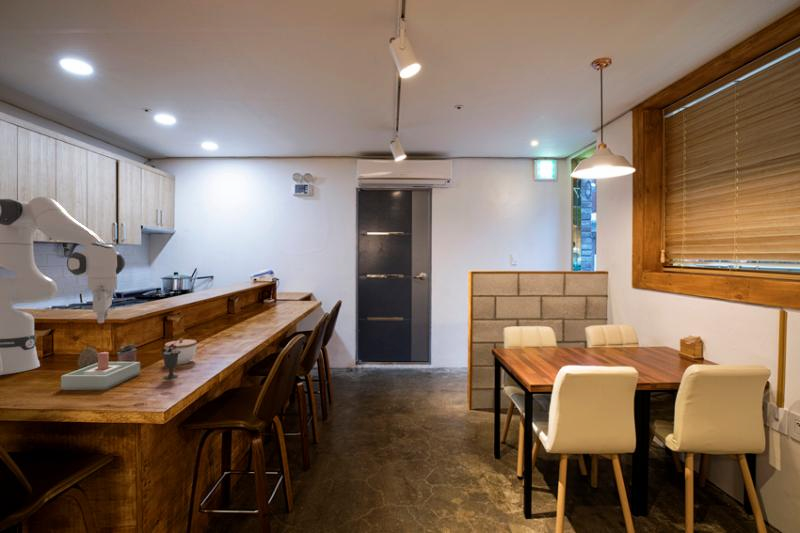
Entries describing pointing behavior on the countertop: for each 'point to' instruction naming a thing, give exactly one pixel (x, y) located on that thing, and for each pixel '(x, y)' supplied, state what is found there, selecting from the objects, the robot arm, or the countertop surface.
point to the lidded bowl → (184, 349)
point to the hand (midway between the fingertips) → (102, 320)
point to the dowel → (103, 360)
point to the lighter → (127, 353)
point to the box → (100, 376)
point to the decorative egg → (88, 357)
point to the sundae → (170, 359)
